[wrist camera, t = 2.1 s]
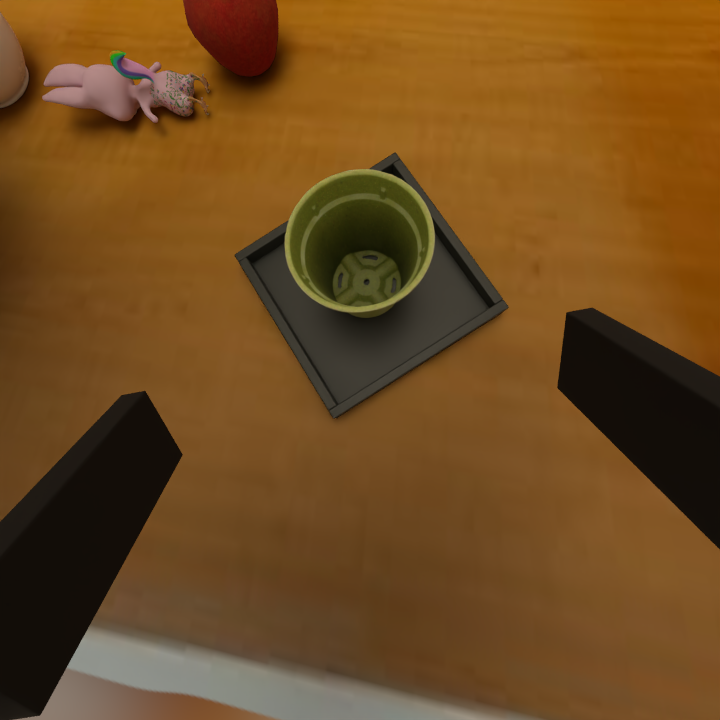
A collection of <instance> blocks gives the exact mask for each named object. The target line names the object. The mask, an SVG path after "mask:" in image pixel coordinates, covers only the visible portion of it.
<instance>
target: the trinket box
mask: <svg viewBox="0 0 720 720" xmlns="http://www.w3.org/2000/svg"><path fill="white" fill-rule="evenodd" d="M28 81H29V73H28V69H27V67H26V65H25V60H24V55H23V51H22V48H21V46H20V44H19V41H18V39H17V37H16V35H15V33H14V32H13V30H12V28H11V27H10V25H9V24H8V22H7V21H6V19H5V18H4V17H3V15H2V14H1V13H0V108H4V107H7V106H9V105H11V104H13V103H14V102H16V101H17V100H18V99H19V98H20V97H21V96H22V95H23V93H24V92H25V90H26V88H27V85H28Z"/></svg>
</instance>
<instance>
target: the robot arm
mask: <svg viewBox="0 0 720 720" xmlns="http://www.w3.org/2000/svg"><path fill="white" fill-rule="evenodd" d="M557 388H558V389H559V390H560V391H561V392H562V393H563V394H564V395H565V396H566V397H567V398H568V399H569V400H570V401H571V402H572V403H573V404H574V405H575V406H576V407H577V408H578V409H579V410H580V411H581V412H582V413H583V414H584V415H585V416H586V417H587V418H588V419H589V420H590V421H591V422H592V423H593V424H594V425H595V426H596V427H597V428H598V429H599V430H600V431H601V432H602V433H603V434H604V435H605V436H606V437H607V438H608V439H609V440H610V441H611V442H612V443H613V444H614V445H615V446H616V447H617V448H618V449H619V450H620V451H621V452H622V453H623V454H624V455H625V456H626V457H627V458H628V459H629V460H630V461H631V462H632V463H633V464H634V465H635V466H636V467H637V468H638V469H639V470H640V471H641V472H642V473H643V474H644V475H645V476H646V477H647V478H648V479H649V480H650V481H651V482H652V483H653V484H654V485H655V486H656V487H657V488H658V489H660V490H661V491H662V492H663V493H664V494H665V495H666V496H667V497H668V498H669V499H670V500H671V501H672V502H673V503H674V504H675V505H676V506H677V507H678V508H679V509H680V510H681V511H682V512H683V513H684V514H685V515H686V516H687V517H688V518H689V519H690V520H691V521H692V522H693V523H694V524H695V525H696V526H697V527H698V528H699V529H700V530H701V531H702V532H703V533H704V534H705V535H706V536H707V537H708V538H709V539H710V540H711V541H712V542H713V543H714V544H715V545H716V546H717V547H718V548H719V549H720V377H719V376H718V375H716V374H714V373H712V372H710V371H708V370H707V369H705V368H703V367H701V366H699V365H697V364H695V363H694V362H692V361H690V360H688V359H686V358H684V357H683V356H681V355H679V354H677V353H675V352H673V351H671V350H670V349H668V348H666V347H664V346H662V345H660V344H659V343H657V342H655V341H653V340H651V339H649V338H647V337H646V336H644V335H642V334H640V333H638V332H636V331H635V330H633V329H631V328H629V327H627V326H625V325H623V324H622V323H620V322H618V321H616V320H614V319H612V318H610V317H609V316H607V315H605V314H603V313H601V312H599V311H598V310H596V309H594V308H588V309H583V310H577V311H572V312H567V313H566V321H565V329H564V337H563V346H562V354H561V362H560V371H559V379H558V387H557ZM182 455H183V454H182V453H181V451H180V449H179V448H178V446H177V444H176V443H175V441H174V439H173V437H172V436H171V434H170V432H169V431H168V429H167V427H166V425H165V424H164V422H163V420H162V419H161V417H160V415H159V414H158V412H157V410H156V408H155V407H154V405H153V403H152V402H151V400H150V398H149V396H148V395H147V393H146V391H142V392H137V393H131V394H126V395H122V396H121V397H120V398H119V399H118V400H117V401H116V402H115V403H114V404H113V405H112V406H111V407H110V408H109V409H108V410H107V411H106V412H105V413H104V414H103V415H102V416H101V418H100V419H99V420H98V421H97V422H96V423H95V424H94V425H93V426H92V427H91V428H90V429H89V430H88V431H87V432H86V433H85V434H84V435H83V436H82V437H81V438H80V439H79V440H78V441H77V442H76V444H75V445H74V446H73V447H72V448H71V449H70V450H69V451H68V452H67V453H66V454H65V455H64V456H63V457H62V458H61V459H60V460H59V461H58V462H57V463H56V464H55V465H54V466H53V467H52V469H51V470H50V471H49V472H48V473H47V474H46V475H45V476H44V477H43V478H42V479H41V480H40V481H39V482H38V483H37V484H36V485H35V486H34V487H33V488H32V489H31V490H30V491H29V492H28V494H27V495H26V496H25V497H24V498H23V499H22V500H21V501H20V502H19V503H18V504H17V505H16V506H15V507H14V508H13V509H12V510H11V511H10V512H9V513H8V514H7V515H6V516H5V517H4V519H3V520H2V521H1V522H0V720H13V719H20V718H27V717H32V716H40V715H41V713H42V711H43V710H44V708H45V706H46V704H47V702H48V700H49V699H50V697H51V695H52V693H53V691H54V689H55V687H56V686H57V684H58V682H59V680H60V678H61V676H62V675H63V673H64V671H65V669H66V668H67V666H68V664H69V662H70V660H71V658H72V657H73V655H74V653H75V651H76V649H77V647H78V646H79V644H80V642H81V640H82V638H83V636H84V635H85V633H86V631H87V629H88V627H89V625H90V624H91V622H92V620H93V618H94V616H95V614H96V613H97V611H98V609H99V607H100V605H101V603H102V602H103V600H104V598H105V596H106V594H107V592H108V591H109V589H110V587H111V585H112V583H113V581H114V580H115V578H116V576H117V574H118V572H119V570H120V569H121V567H122V565H123V563H124V561H125V559H126V558H127V556H128V554H129V552H130V550H131V548H132V547H133V545H134V543H135V541H136V539H137V537H138V536H139V534H140V532H141V530H142V528H143V526H144V525H145V523H146V521H147V519H148V517H149V516H150V514H151V512H152V510H153V508H154V506H155V505H156V503H157V501H158V499H159V497H160V495H161V494H162V492H163V490H164V488H165V486H166V484H167V483H168V481H169V479H170V477H171V475H172V473H173V472H174V470H175V468H176V466H177V464H178V462H179V461H180V459H181V457H182Z"/></svg>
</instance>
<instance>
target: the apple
mask: <svg viewBox="0 0 720 720" xmlns="http://www.w3.org/2000/svg"><path fill="white" fill-rule="evenodd" d="M183 2H184V8H185V14H186V18H187V23H188V26H189V28H190V29H191V31H192V33H193V35H194V36H195V38H196V39H197V40H198V41H199V42H200V43H201V45H202V46H203V47H204V48H205V49H206V50H207V51H208V52H209V53H210V54H211V55H212V56H213V57H214V58H215V59H216V60H217V61H218V62H219V63H220V64H221V65H223V66H224V67H226V68H227V69H229V70H230V71H232V72H234V73H235V74H237V75H241V76H247V77H251V76H256V75H260V74H262V73H263V72H265V71H266V70H267V69H269V68H270V66H271V64H272V62H273V61H274V59H275V54H276V49H277V41H278V8H277V3H276V0H183Z"/></svg>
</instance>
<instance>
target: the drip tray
mask: <svg viewBox="0 0 720 720" xmlns="http://www.w3.org/2000/svg"><path fill="white" fill-rule="evenodd" d="M370 170H377V171H381V172H385V173H388V174H391V175H393V176H396V177H398V178H400V179H401V180H403V181H404V182H406V183H407V184H408V185H410V186H411V187H412V188H413V189H414V190H415V191H416V192H417V193H418V194H419V195H420V196H421V198H422V199H423V201H424V202H425V204H426V206H427V208H428V210H429V212H430V214H431V217H432V221H433V225H434V231H435V245H434V252H433V256H432V260H431V263H430V265H429V268H428V270H427V272H426V274H425V275H424V277H423V279H422V280H421V281H420V283H419V284H418V285H417V286H416V287H415V288H414V290H413V291H412V292H410V293H409V294H408V295H407V296H406V297H404V298H403V299H401V300H400V301H398V302H396V303H395V304H394V306H393V307H392V308H390V309H389V310H388V311H387V312H385V313H383V314H381V315H379V316H376V317H371V318H361V317H356V316H353V315H351V314H349V313H347V312H340V311H336V310H333V309H330V308H327V307H325V306H323V305H321V304H319V303H318V302H316V301H314V300H313V299H312V298H310V297H309V296H308V295H307V294H306V293H305V292H304V291H303V290H302V289H301V288H300V287H299V285H298V284H297V283H296V281H295V279H294V278H293V276H292V274H291V272H290V270H289V267H288V264H287V260H286V255H285V234H286V228H287V224H288V221H289V220H288V221H287V222H285V223H283V224H282V225H280V226H279V227H277V228H276V229H274V230H272V231H271V232H269V233H268V234H266V235H265V236H263V237H261V238H260V239H258V240H257V241H255V242H254V243H252V244H250V245H249V246H247V247H246V248H244V249H243V250H241V251H240V252H238V253H236V254H235V257H236V259H237V260H238V262H239V264H240V265H241V267H242V269H243V270H244V272H245V273H246V275H247V277H248V278H249V280H250V282H251V283H252V285H253V287H254V288H255V290H256V292H257V293H258V295H259V297H260V298H261V300H262V302H263V303H264V305H265V307H266V308H267V310H268V311H269V313H270V315H271V316H272V318H273V320H274V321H275V323H276V325H277V326H278V328H279V330H280V331H281V333H282V335H283V336H284V338H285V340H286V341H287V343H288V345H289V346H290V348H291V349H292V351H293V353H294V354H295V356H296V358H297V359H298V361H299V363H300V364H301V366H302V368H303V369H304V371H305V373H306V374H307V376H308V378H309V379H310V381H311V383H312V384H313V386H314V387H315V389H316V391H317V392H318V394H319V396H320V397H321V399H322V401H323V402H324V404H325V406H326V407H327V409H328V410H329V412H330V414H331V416H332V417H333V418H334V419H335V418H338V417H339V416H341V415H342V414H344V413H346V412H347V411H349V410H350V409H352V408H353V407H355V406H357V405H358V404H360V403H361V402H363V401H364V400H366V399H368V398H369V397H371V396H372V395H374V394H375V393H377V392H379V391H380V390H382V389H383V388H385V387H386V386H388V385H390V384H391V383H393V382H394V381H396V380H397V379H399V378H401V377H402V376H404V375H405V374H407V373H408V372H410V371H412V370H413V369H415V368H416V367H418V366H419V365H421V364H423V363H424V362H426V361H427V360H429V359H430V358H432V357H434V356H435V355H437V354H438V353H440V352H441V351H443V350H445V349H446V348H448V347H449V346H451V345H452V344H454V343H456V342H457V341H459V340H460V339H462V338H463V337H465V336H467V335H468V334H470V333H471V332H473V331H474V330H476V329H477V328H479V327H481V326H482V325H484V324H485V323H487V322H488V321H490V320H492V319H493V318H495V317H496V316H498V315H499V314H501V313H503V312H504V311H505V310H506V309H508V305H507V304H506V303H505V301H504V300H502V297H501V296H500V294H499V293H498V292H497V290H496V289H495V287H494V286H493V285H492V283H491V282H490V281H489V279H488V278H487V277H486V275H485V274H484V272H483V271H482V270H481V268H480V267H479V266H478V264H477V263H476V262H475V260H474V259H473V257H472V256H471V255H470V253H469V252H468V251H467V249H466V248H465V247H464V245H463V244H462V242H461V241H460V240H459V238H458V237H457V236H456V234H455V233H454V232H453V230H452V229H451V227H450V226H449V225H448V223H447V222H446V221H445V219H444V218H443V217H442V215H441V214H440V212H439V211H438V210H437V208H436V207H435V206H434V204H433V203H432V201H431V200H430V199H429V197H428V196H427V195H426V193H425V192H424V191H423V189H422V188H421V186H420V185H419V184H418V182H417V181H416V180H415V178H414V177H413V176H412V174H411V173H410V171H409V170H408V169H407V167H406V166H405V165H404V163H403V162H402V161H401V159H400V158H399V156H398V155H397V154H396V153H393V154H392V155H390V156H389V157H387V158H385V159H384V160H382V161H381V162H379V163H378V164H376V165H374V166H373V167H371V168H370ZM362 258H363V259H364V258H365V259H372V260H378V258H377V257H376V256H373V255H368V256H364V257H362ZM342 278H343V273H341V274H340V275H339V277H338V287H339V288H341V287H342V286H341V283H342ZM364 284H365V285H368V284H369V280H368V279H366V280H364ZM395 289H396V279H395V278H393V284H392V290H391V293H394V292H395Z"/></svg>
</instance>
